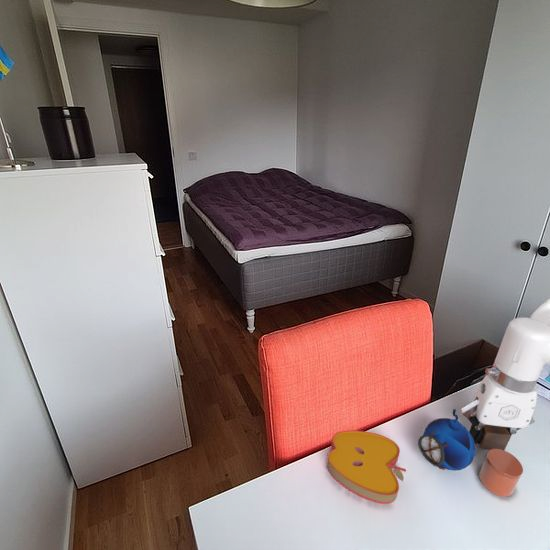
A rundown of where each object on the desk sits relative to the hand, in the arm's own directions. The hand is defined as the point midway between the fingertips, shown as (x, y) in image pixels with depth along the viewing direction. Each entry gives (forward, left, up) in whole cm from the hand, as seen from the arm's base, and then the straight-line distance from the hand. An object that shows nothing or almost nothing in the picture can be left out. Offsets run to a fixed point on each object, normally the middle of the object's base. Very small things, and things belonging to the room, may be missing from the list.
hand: (487, 439), depth 76 cm
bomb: (+11, +5, -2) cm, 13 cm away
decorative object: (+36, +8, 0) cm, 37 cm away
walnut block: (0, 0, 0) cm, 0 cm away
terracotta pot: (+2, +9, -2) cm, 9 cm away
